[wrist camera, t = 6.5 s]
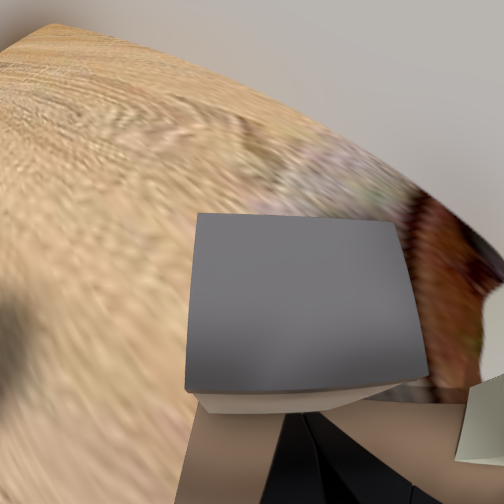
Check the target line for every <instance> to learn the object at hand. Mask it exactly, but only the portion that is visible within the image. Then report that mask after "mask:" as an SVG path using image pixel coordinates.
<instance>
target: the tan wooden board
mask: <svg viewBox="0 0 504 504" xmlns="http://www.w3.org/2000/svg"><path fill="white" fill-rule="evenodd" d="M466 408H467V404H429V403H404V402H388V401H375V400H364V399H361V400H358V401H355V402H352V403H349V404H346V405H343V406H340V407H337V408H333V409H330V410H323V411H319V412H320V413H322V414H323V415H324V416H325V417H326V418H328V419H329V420H330V421H331V422H333V423H334V424H335V425H336V426H337V427H339V428H340V429H341V430H342V431H344V432H345V433H346V434H347V435H349V436H350V437H351V438H353V439H354V440H355V441H356V442H358V443H359V444H360V445H361V446H363V447H364V448H365V449H367V450H368V451H369V452H371V453H372V454H373V455H374V456H376V457H377V458H378V459H380V460H381V461H382V462H384V463H385V464H386V465H388V466H389V467H390V468H392V469H393V470H395V471H396V472H397V473H399V474H400V475H401V476H403V477H404V478H406V479H407V480H408V481H410V482H411V483H412V484H413V485H416V486H417V487H419V488H420V489H421V490H423V491H424V492H426V493H427V494H429V495H431V496H432V497H434V498H435V499H437V500H438V501H440V502H442V503H444V504H504V466H502V465H489V464H478V463H469V462H461V461H454V460H455V457H456V453H457V449H458V445H459V441H460V437H461V432H462V428H463V423H464V418H465V413H466ZM300 413H303V412H300ZM285 414H286V413H270V414H219V413H208V412H207V411H206V409H205V408H204V407H203V406H202V404H201V403H200V402H198V406H197V410H196V414H195V419H194V423H193V427H192V431H191V435H190V439H189V443H188V447H187V451H186V456H185V460H184V464H183V468H182V472H181V476H180V481H179V485H178V489H177V493H176V498H175V502H174V504H258V503H259V500H260V497H261V494H262V491H263V488H264V485H265V481H266V478H267V475H268V471H269V468H270V465H271V461H272V458H273V455H274V451H275V448H276V444H277V441H278V437H279V433H280V430H281V426H282V422H283V419H284V415H285ZM413 485H412V486H413Z"/></svg>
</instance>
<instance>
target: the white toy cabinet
mask: <svg viewBox="0 0 504 504" xmlns="http://www.w3.org/2000/svg"><path fill="white" fill-rule="evenodd" d="M428 375H429V371H428V365H427V359H426V353H425V347H424V341H423V336H422V331H421V326H420V321H419V316H418V311H417V307H416V302H415V298H414V294H413V290H412V286H411V282H410V278H409V274H408V270H407V266H406V262H405V259H404V255H403V252H402V248H401V245H400V241H399V238H398V234H397V231H396V228H395V225H394V222H384V221H370V220H354V219H338V218H320V217H300V216H278V215H252V214H221V213H198V215H197V224H196V234H195V244H194V254H193V265H192V276H191V288H190V301H189V315H188V330H187V347H186V366H185V390H186V391H187V392H188V393H193V394H194V396H195V397H196V398H197V399H198V401H199V402H200V403H201V404H202V406H203V407H204V408H205V409H206V411H207V412H208V413H219V414H270V413H293V412H309V411H323V410H330V409H333V408H337V407H340V406H343V405H346V404H349V403H352V402H355V401H358V400H361V399H363V398H366V397H369V396H372V395H375V394H377V393H380V392H383V391H385V390H388V389H390V388H393V387H395V386H398V385H400V384H403V383H405V382H411V381H416V380H418V379H421V378H423V377H426V376H428Z"/></svg>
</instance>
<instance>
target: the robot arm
mask: <svg viewBox="0 0 504 504" xmlns="http://www.w3.org/2000/svg"><path fill="white" fill-rule="evenodd" d="M412 485H413V484H412V483H411V482H410V481H408V480H407V479H406V478H404V477H403V476H401V475H400V474H399V473H397V472H396V471H395V470H393V469H392V468H390V467H389V466H388V465H386V464H385V463H384V462H382V461H381V460H380V459H378V458H377V457H376V456H374V455H373V454H372V453H371V452H369V451H368V450H367V449H365V448H364V447H363V446H361V445H360V444H359V443H358V442H356V441H355V440H354V439H353V438H351V437H350V436H349V435H347V434H346V433H345V432H344V431H342V430H341V429H340V428H339V427H337V426H336V425H335V424H334V423H333V422H331V421H330V420H329V419H328V418H326V417H325V416H324V415H323V414H322V413H320V412H319V411H309V412H303V413H300V412H293V413H286V414H285V415H284V419H283V422H282V426H281V430H280V433H279V437H278V441H277V444H276V448H275V451H274V455H273V458H272V461H271V465H270V468H269V471H268V475H267V478H266V481H265V485H264V488H263V491H262V494H261V497H260V500H259V503H258V504H444V503H442V502H440V501H438V500H437V499H435V498H434V497H432V496H431V495H429V494H427V493H426V492H424V491H423V490H421V489H420V488H419V487H417V486H416V485H413V486H412Z"/></svg>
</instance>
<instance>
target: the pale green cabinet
mask: <svg viewBox="0 0 504 504" xmlns="http://www.w3.org/2000/svg"><path fill="white" fill-rule="evenodd" d="M454 461H461V462H469V463H478V464H489V465H502V466H504V374H502V375H500V376H498V377H495V378H493V379H490V380H488V381H485V382H483V383H480V384H477V385H475V386H472V387H470V390H469V396H468V402H467V408H466V413H465V418H464V423H463V428H462V432H461V437H460V441H459V445H458V449H457V453H456V457H455V460H454Z"/></svg>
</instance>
